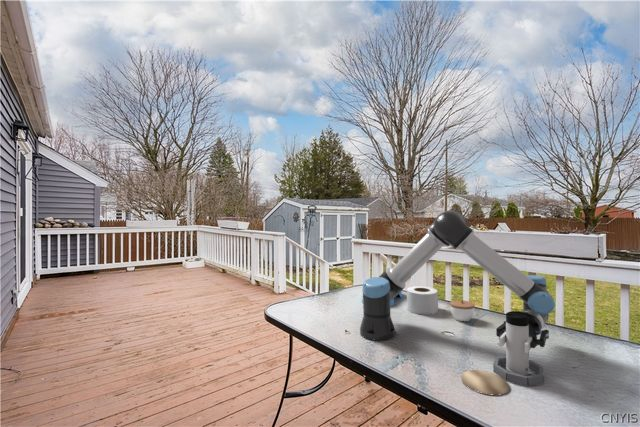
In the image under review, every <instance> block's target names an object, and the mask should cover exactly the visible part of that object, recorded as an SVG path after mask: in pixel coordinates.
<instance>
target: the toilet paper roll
mask: <svg viewBox="0 0 640 427" xmlns="http://www.w3.org/2000/svg"><path fill="white" fill-rule="evenodd" d="M406 310H408V311H409V312H411V313H413V314H416V315H422V316H423V315H427V316H428V315H435V314H436V313H438V312H439V290H438V289H436V288H433V287H431V286H421V285H420V286H418V285H417V286H414V285H413V286H410V287H407V288H406Z"/></svg>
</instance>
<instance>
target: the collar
mask: <svg viewBox="0 0 640 427" xmlns="http://www.w3.org/2000/svg"><path fill="white" fill-rule="evenodd" d="M502 366H506V355H502V356H495V357H494V359H493V368H492V369H493V370H492V373H494V374H496V375H498V376H500V377H502V378H503V379H504V380H505V381H506V382H507V383H508V382H509V383H513V384H517V385H521V386H525V387H533V386H539V385H544V384H545V373H544V372H545V368H544V367H543V366H542V365H540V364H537V362H534V361H533V360H531V359H529V371H531V372H534V373H535V374H529V376H524V375H520V374H516V373H511V372H508V371H506V368H504V367H502Z"/></svg>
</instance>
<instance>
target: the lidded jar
mask: <svg viewBox="0 0 640 427" xmlns="http://www.w3.org/2000/svg"><path fill="white" fill-rule="evenodd" d="M449 306H450V313H451V315H452V316H453V318H455V320H456V321H458V322H462V321H464V322H465V321H467V322H470V320H471V319H472V318H473V317H474V314H475V303H474V302H471V301H469V300H463V299H460V300H459V299H456V300H451V301H450V302H449Z"/></svg>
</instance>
